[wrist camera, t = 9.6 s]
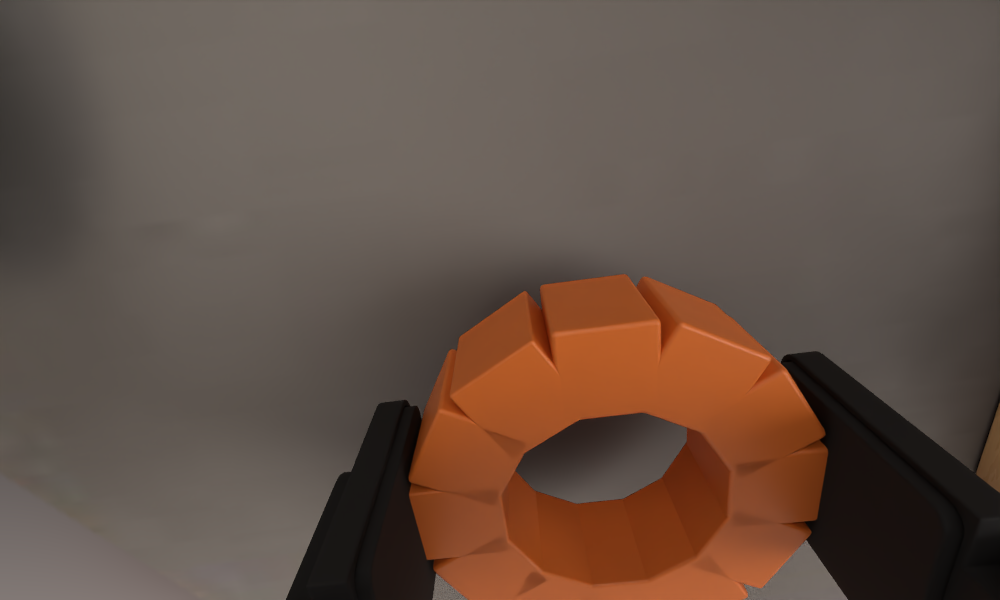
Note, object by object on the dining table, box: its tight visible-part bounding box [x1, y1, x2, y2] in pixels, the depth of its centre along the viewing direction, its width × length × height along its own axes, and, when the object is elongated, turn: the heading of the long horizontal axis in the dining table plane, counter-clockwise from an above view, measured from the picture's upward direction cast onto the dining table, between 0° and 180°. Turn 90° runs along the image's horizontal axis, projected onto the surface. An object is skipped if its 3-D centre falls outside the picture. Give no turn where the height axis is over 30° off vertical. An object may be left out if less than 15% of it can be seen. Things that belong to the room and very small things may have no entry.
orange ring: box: [408, 274, 828, 600], centre depth 9 cm, size 7×7×2 cm
